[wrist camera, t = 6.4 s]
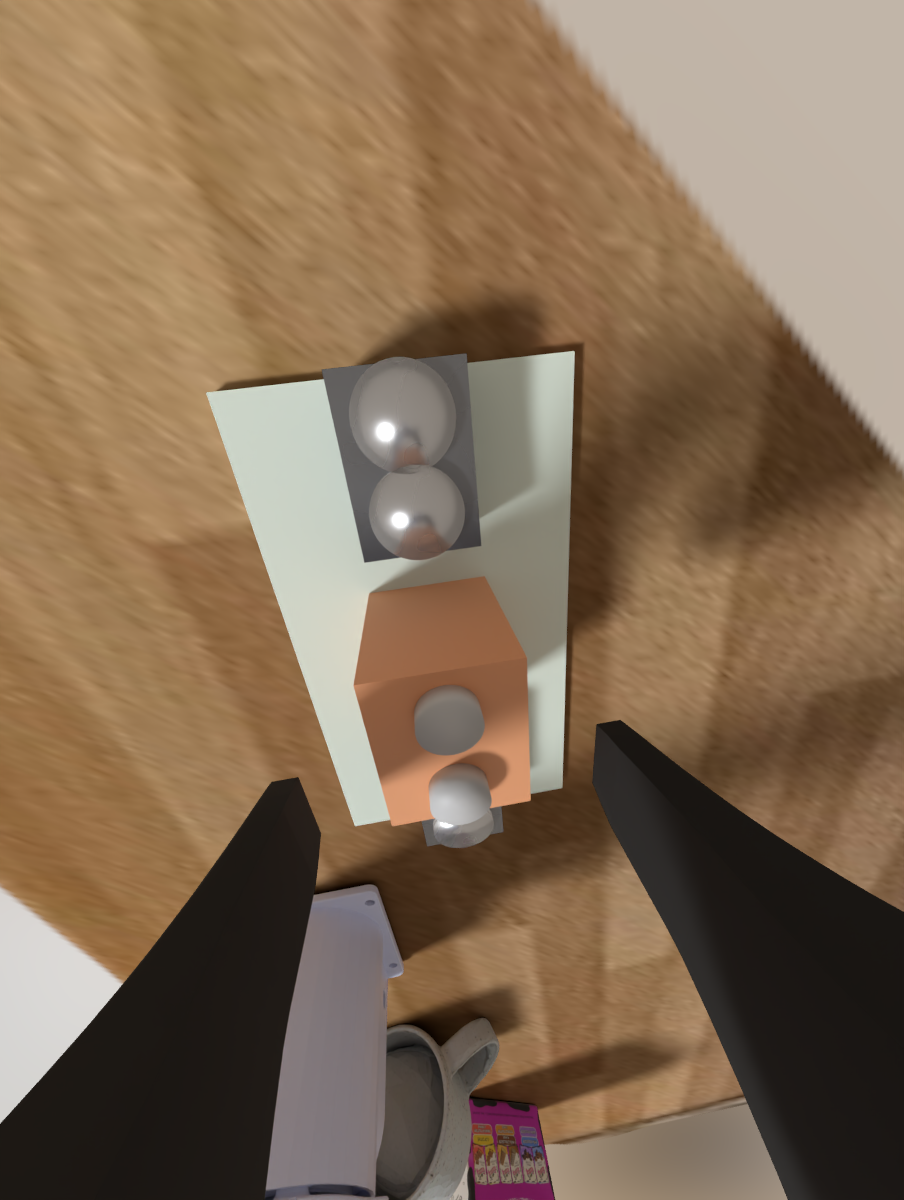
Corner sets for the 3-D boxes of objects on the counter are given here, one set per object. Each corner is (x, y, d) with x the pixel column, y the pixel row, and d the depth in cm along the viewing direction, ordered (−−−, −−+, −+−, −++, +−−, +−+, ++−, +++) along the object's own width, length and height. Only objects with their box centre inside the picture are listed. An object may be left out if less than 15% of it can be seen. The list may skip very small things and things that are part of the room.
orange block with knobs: (493, 689, 16) (536, 819, 11) (394, 706, 15) (391, 847, 10) (484, 576, 13) (534, 673, 8) (369, 593, 13) (350, 703, 8)
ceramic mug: (386, 1073, 33) (385, 1250, 26) (344, 1041, 29) (328, 1236, 22) (505, 1032, 32) (536, 1199, 25) (478, 994, 29) (505, 1177, 22)
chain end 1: (468, 526, 13) (483, 551, 10) (370, 540, 12) (363, 568, 10) (454, 362, 11) (468, 348, 8) (336, 375, 10) (318, 365, 8)
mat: (559, 781, 19) (562, 788, 19) (355, 818, 19) (355, 826, 18) (569, 353, 11) (574, 350, 11) (212, 393, 11) (205, 392, 10)
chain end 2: (492, 787, 18) (505, 840, 16) (424, 799, 18) (428, 854, 16) (485, 712, 16) (499, 760, 14) (408, 725, 16) (410, 776, 14)
